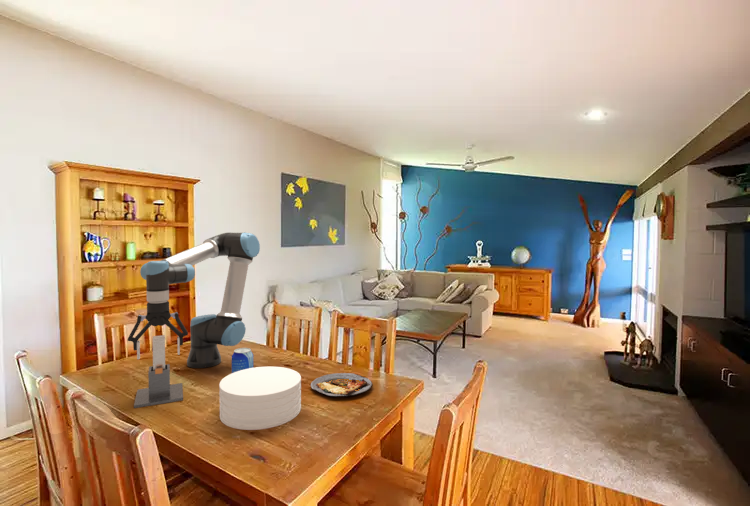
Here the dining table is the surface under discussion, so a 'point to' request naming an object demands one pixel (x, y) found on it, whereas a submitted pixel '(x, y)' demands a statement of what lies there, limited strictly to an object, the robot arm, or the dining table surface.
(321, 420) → the dining table surface
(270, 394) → the plate stack
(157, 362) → the column
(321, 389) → the food plate
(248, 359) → the beer can
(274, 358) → the dining table surface
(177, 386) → the stand
